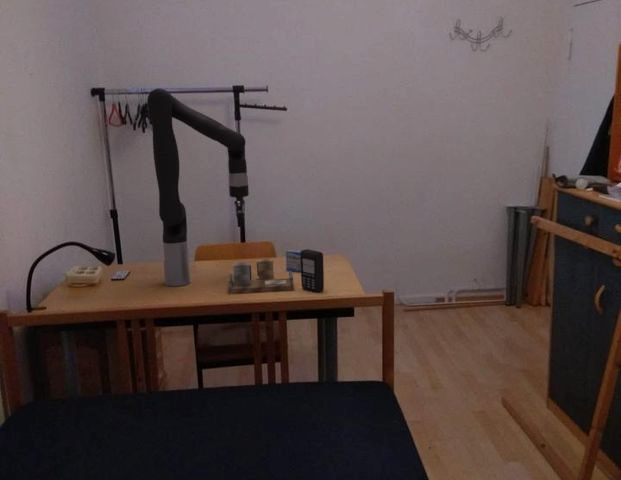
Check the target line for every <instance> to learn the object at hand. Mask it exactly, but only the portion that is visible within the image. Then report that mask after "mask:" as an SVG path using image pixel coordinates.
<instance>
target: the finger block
mask: <svg viewBox="0 0 621 480" xmlns="http://www.w3.org/2000/svg"><path fill="white" fill-rule="evenodd" d="M256 269H257V270H256V271H257V277H258V280H268V279H275V275H274V273H275V271H274V259H273V258H261V259H259V258H258V259H257V262H256Z"/></svg>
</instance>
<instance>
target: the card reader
mask: <svg viewBox="0 0 621 480" xmlns="http://www.w3.org/2000/svg"><path fill="white" fill-rule="evenodd" d="M300 250H301V252H300V259H301V272H300V276H301V278H300V279H301V288H303V289H304V290H307V291H310V292H314V293H321V292H323V291H324V290H325V289H324V288H325V283H324V282H325V279H324V277H325V276H324V275H325V274H324V271H325V270H324V253H322V252H321V251H316V250H312V249H307V248H306V249H300Z"/></svg>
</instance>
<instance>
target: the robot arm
mask: <svg viewBox="0 0 621 480" xmlns="http://www.w3.org/2000/svg"><path fill="white" fill-rule="evenodd" d="M146 100H147V103H146V104H147V107H148V112H149V115H150V120H151V125H152V127H151V128H152V150H153V151H152V153H153V161H154V163H153V164H154V169H155V176H156V181H157V182H156V183H157V186H158V197H159V199H158V202H159V203H158V206H159V207H158V213H159V214H158V215H159V218H160V221H161V222H162V225H163V226H162V227H163V228H162V229H163V231H162V244H163V245H162V246H163V255H164V259H163V260H164V262H163V268H164V269H163V270H164V283H165V287H166V286H167V287H168V286H170V287H181V286H182V287H183V286H185V285H188V284H189V285H190V283H191V275H190V273H191V272H190V263H189V249H188V248H189V247H188V238H187V237H188V236H187V235H188V225H187V223H188V222H187V212H186V207H185V205H184V204H183V202H181V198H180V193H179V183H180V158H179V157H180V154H179V149H178V144H177V139H176V136H175V133H174V128H173V127H174V126H173V118H174V120H177V121H180V122H181V123H182V124H184V125H187V126H188V127H190V128H191V129H193V130H194V131H196V132H198V133H199V134H200V135H203V136H205V137H207V138H208V139H210V140H213V141H215V142H218V143H219V144H220V145H222V146H224V147H225V148H227V155H228V164H227V165H228V188H229V189H228V190H229V191H228V192H229V197H230V198H235V200H234V209H235V211H234V212H235V217H236V219H237V222H236V223H237V227H238V228H243V227H244V223H245V218H244V217H245V215H244V213H245V209H246V207H245V205H246V202H245V200H244V198H245V197H249V194H250V193H249V176H248V168H247V161H246V143H247V141H246V138H245V137H244V135H242V133H240V132H237V131H235V130H233V129H231V128H229V127H226V125H224V124H222V123H221V122H219V121H217V120H215V119H214V118H212V117H210V116H208V115H205V114H203V113H202V112H199V111H198V110H196V109H193V108H191V107H189V106H187V105H186V104H184V103H182V102H181V101H180V100H178V99H177V98H176V97H174V96H173V95H172V94H171V92H169V90H166V89H163V88H160V87H159V88H154V89H153V90H151V91H150V92H149V94H148V95H147V99H146Z"/></svg>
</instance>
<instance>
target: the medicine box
mask: <svg viewBox="0 0 621 480" xmlns="http://www.w3.org/2000/svg"><path fill="white" fill-rule="evenodd" d="M301 250H302V249H287V250H286V251H285V261H286V262H285V264H286V265H285V267H286V268H285V269H286V271H287V272H289V271H292V273H293V272H294V273H301V259H300V252H301Z"/></svg>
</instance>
